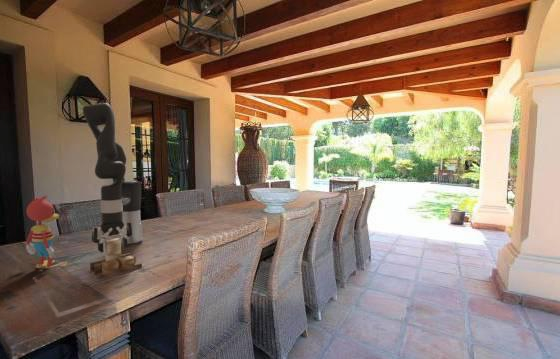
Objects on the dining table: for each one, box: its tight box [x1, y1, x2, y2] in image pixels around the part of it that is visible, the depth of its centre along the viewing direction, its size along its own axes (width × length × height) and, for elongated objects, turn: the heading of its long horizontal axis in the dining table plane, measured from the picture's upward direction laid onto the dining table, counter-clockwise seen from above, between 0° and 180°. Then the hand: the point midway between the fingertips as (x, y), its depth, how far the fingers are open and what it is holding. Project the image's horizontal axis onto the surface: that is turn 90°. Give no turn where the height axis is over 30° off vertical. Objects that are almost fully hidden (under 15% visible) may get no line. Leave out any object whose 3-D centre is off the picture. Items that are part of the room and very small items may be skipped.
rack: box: [88, 252, 144, 280], centre depth 113 cm, size 16×13×4 cm
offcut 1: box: [102, 259, 119, 273], centre depth 109 cm, size 4×4×4 cm
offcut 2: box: [119, 255, 135, 268], centre depth 113 cm, size 4×4×4 cm
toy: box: [25, 195, 69, 269], centre depth 114 cm, size 15×10×30 cm
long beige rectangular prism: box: [104, 237, 122, 262], centre depth 114 cm, size 5×3×11 cm, turn 140°
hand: (113, 249), depth 114 cm, fingers open, 8 cm apart
